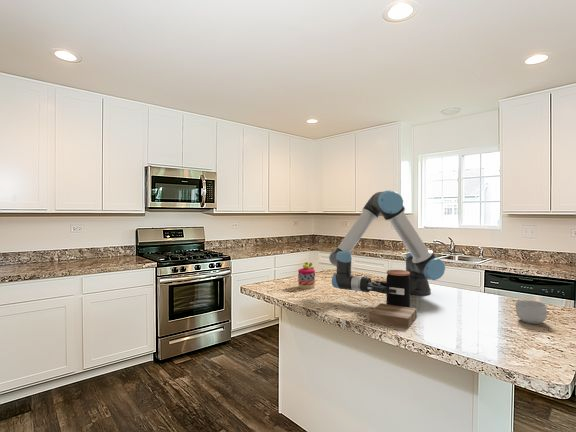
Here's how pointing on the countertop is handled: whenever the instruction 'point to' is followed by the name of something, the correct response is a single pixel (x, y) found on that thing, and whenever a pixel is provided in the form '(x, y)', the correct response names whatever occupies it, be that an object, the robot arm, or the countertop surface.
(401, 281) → the coffee jar
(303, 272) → the cake
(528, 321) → the teacup
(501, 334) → the countertop surface
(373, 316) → the walnut base block
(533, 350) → the countertop surface
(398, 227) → the robot arm
